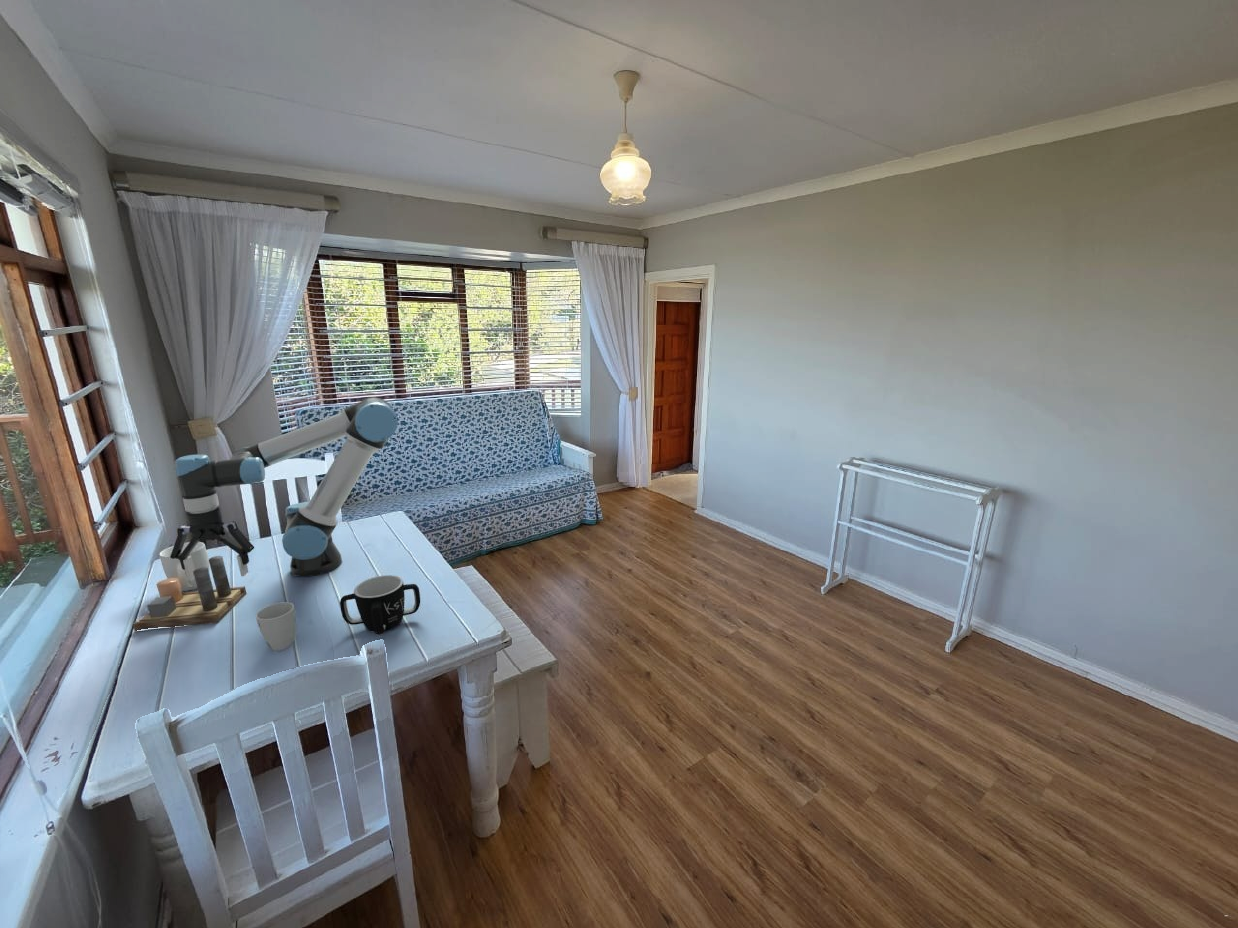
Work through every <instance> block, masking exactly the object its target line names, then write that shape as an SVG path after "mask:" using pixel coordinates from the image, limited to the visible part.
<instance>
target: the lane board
mask: <svg viewBox="0 0 1238 928" xmlns="http://www.w3.org/2000/svg"><path fill="white" fill-rule="evenodd" d="M230 589H231V590H239V589H240V590H241V594H240V595H239V596H238V597H237V598H236V599H235V600H234V601H233V600H232V599H227V600H218V601H216V602H217V603H225V602H227V604H228V607H227V608H226V609H225V610H224V611H223V612H222V613H221V614H220V615H219V614H218V613H212V614H203V615H194V616H185V617H176V618H166V619H157V620H148V621H139V620H138V621H134V622H132V623H131V624H132V628H133V631H134V632H135V631H137V630H141V629H148V628H158V627H175V626H184V625H193V626H200V625H201V624H202V625H207V624H210V623H211V624H217V623H220V621H222V619H223V618H224V617H225V616H226V615H227V614H229V612H230V611H232V609H233V608H235V606H236V605H237V604H238V603H239V602H240V601H241V600H242V599H243V598H244V597H245V596H246V595H247V594H248V593H247V589H246V586H245V585H244V586H237V587H236V586H233V587H230ZM213 590H214V592H217V591H216V588H215V589H214V588H213ZM182 594H183V595H190V594H199V592H198V590H195V591H194V590H193V591H183V592H182ZM197 605H202V603H201V602H198V603H189V604H179V605H176V608H178V607H187V606H197ZM184 627H185V626H184ZM175 628H176V627H175Z"/></svg>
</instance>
